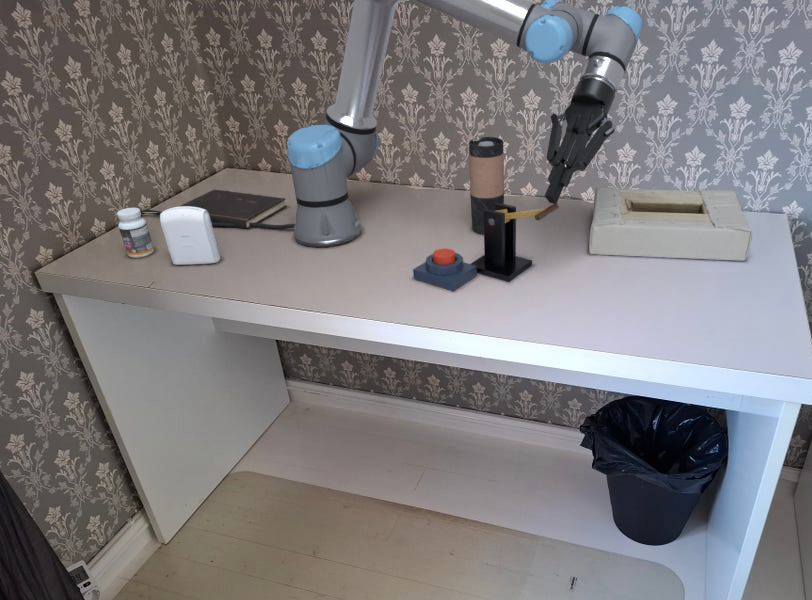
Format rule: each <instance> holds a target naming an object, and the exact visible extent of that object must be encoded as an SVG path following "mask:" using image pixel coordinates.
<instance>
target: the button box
mask: <svg viewBox="0 0 812 600" xmlns="http://www.w3.org/2000/svg"><path fill="white" fill-rule="evenodd" d="M412 273H413V275H412V276H413V279H414V281H415V280H416V281H418V282H422V283H425V284H428V285H432V286H435V287H439V288H442V289H445V290H448V291H451V292H454V291H456V290H458V289H459V288H461V287H462V286H464V285H465V284H467V283H468V282H470V281H471V280H473V279H475V278H476V277H477V276H478V273H477V266H475V265H471V263H467V262H464V257H463V256H462V255H461V254H460V253H457V252H455V262H454V263H452V264H447V265H439V264H435V263H434V262H433V253H431V254H430V255H428V256H426V258H425V261H424V262H423V263H421V264H420V265H418V266H416V267H414V268H413V269H412Z"/></svg>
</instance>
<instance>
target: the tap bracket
mask: <svg viewBox="0 0 812 600" xmlns="http://www.w3.org/2000/svg"><path fill="white" fill-rule="evenodd" d="M503 209H507V211H508V213H512V212H517V206H515V205H510V204H506V203H504V204H502V203H496V204H495V211H493V210H489V209H485V210H484V234H483V247H484V249H483V252H484V253H483V255H482V256H480V257H479V258H477V259H475V260H473V261H472V262H471V263H470V264H471V265H475V266H477V274H479V275H482V276H483V275H484V276H487V277H490V278H493V279H497V280H501V281H503V282H508V283H509V282H511V281H513V280H514V279H516V278H517V277H518V276H519V275H521V274H523V273H524V272H525V271H526V270H528V269H529V268H531V267H532V266H533V259H529V258H525V257H522V256H517V248H516V247H517V218H516V219H510V221H508V222H507V223H505V213H502V212H498V211H496V210H503Z"/></svg>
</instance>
